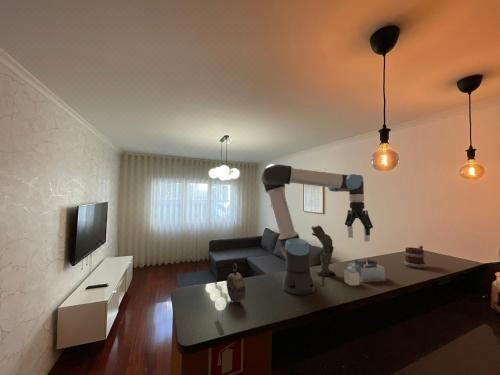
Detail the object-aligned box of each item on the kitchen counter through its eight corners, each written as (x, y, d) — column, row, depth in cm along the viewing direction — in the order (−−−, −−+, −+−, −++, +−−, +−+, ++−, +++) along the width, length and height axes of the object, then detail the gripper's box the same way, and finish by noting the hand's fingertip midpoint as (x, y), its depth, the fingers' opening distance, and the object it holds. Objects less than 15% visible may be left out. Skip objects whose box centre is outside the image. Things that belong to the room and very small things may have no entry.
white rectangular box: (361, 282, 109) (360, 263, 110) (348, 275, 120) (348, 258, 120) (388, 280, 111) (387, 262, 112) (373, 273, 122) (372, 257, 123)
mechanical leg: (339, 271, 125) (324, 222, 128) (343, 275, 118) (328, 223, 121) (316, 276, 126) (303, 228, 129) (319, 280, 119) (305, 229, 122)
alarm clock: (246, 307, 83) (246, 265, 85) (234, 310, 81) (233, 267, 82) (235, 296, 93) (235, 259, 94) (224, 299, 90) (224, 261, 92)
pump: (350, 285, 105) (349, 266, 105) (344, 282, 109) (343, 264, 110) (359, 284, 105) (358, 266, 106) (353, 281, 110) (352, 263, 111)
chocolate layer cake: (398, 265, 138) (399, 242, 140) (412, 266, 143) (412, 244, 145) (418, 270, 127) (419, 245, 129) (432, 271, 132) (432, 247, 134)
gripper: (379, 201, 107) (381, 243, 105) (348, 202, 131) (350, 236, 129) (366, 201, 106) (368, 243, 104) (338, 202, 130) (339, 236, 128)
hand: (358, 239), depth 117 cm, fingers open, 13 cm apart
